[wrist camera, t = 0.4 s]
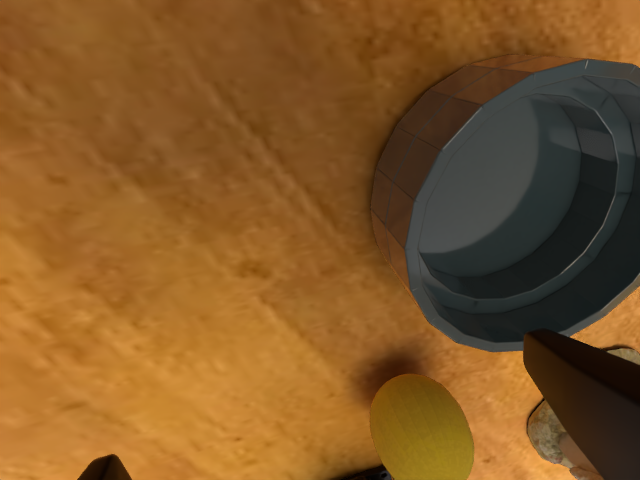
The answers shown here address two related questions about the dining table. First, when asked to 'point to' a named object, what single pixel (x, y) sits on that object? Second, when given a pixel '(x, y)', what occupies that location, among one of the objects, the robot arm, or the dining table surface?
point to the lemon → (420, 430)
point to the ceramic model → (565, 435)
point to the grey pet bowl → (515, 198)
